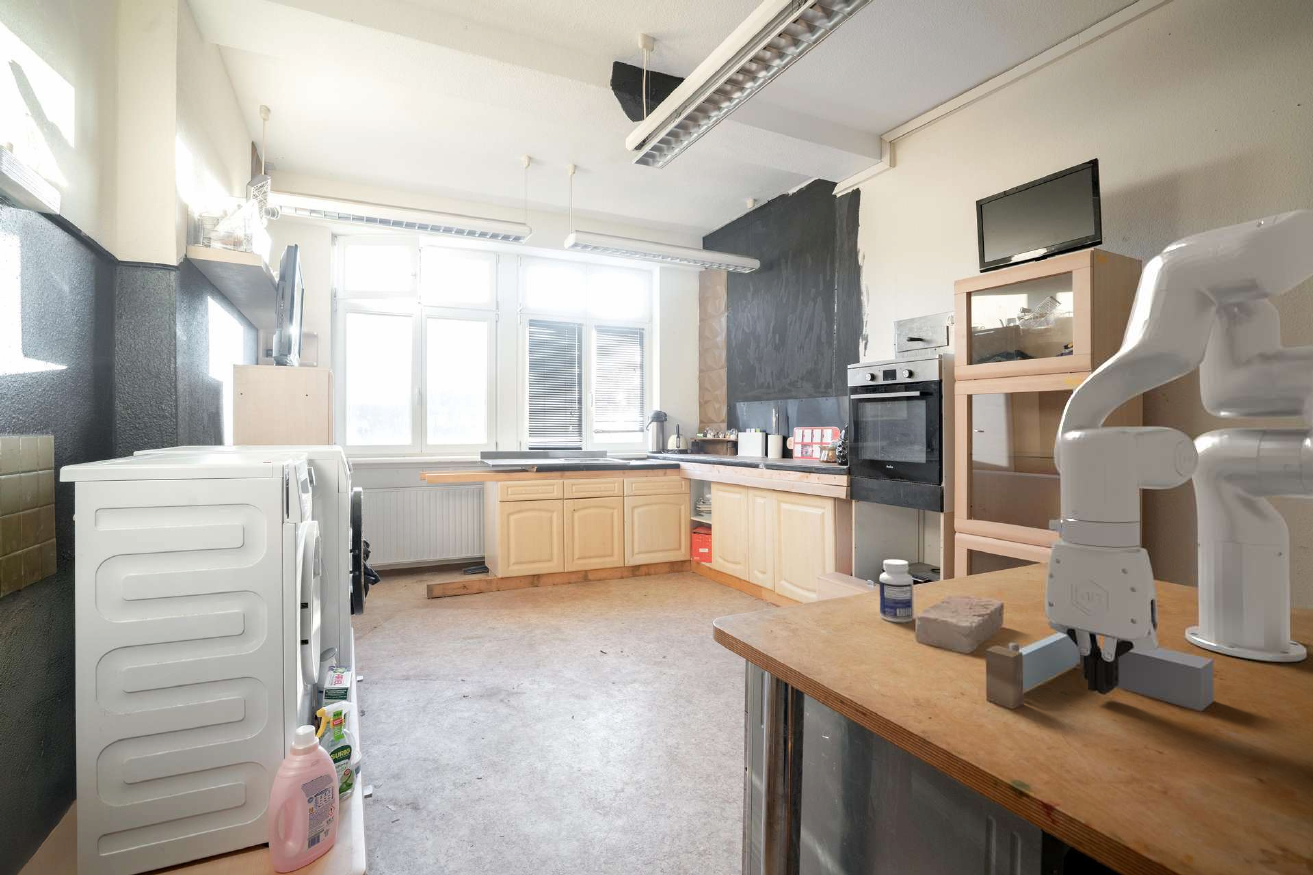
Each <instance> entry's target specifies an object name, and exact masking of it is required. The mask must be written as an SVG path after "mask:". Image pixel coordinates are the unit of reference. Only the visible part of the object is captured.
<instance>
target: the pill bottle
mask: <svg viewBox="0 0 1313 875" xmlns="http://www.w3.org/2000/svg"><path fill="white" fill-rule="evenodd" d="M882 566H883V570H884V572H882V573H881V574H880V575H879V615H880V618H881V619H883V620H884V621H887V622H892V623H909V622H912V621H914V617H915V616H914V614H915V610H914V609H915V608H914V605H915V604H914V579H913V577H912V575H911V574H910V573H908V572H909V569H910V568H909V561H907V560H904V559H885V560H883V565H882Z"/></svg>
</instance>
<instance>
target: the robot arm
mask: <svg viewBox="0 0 1313 875" xmlns="http://www.w3.org/2000/svg"><path fill="white" fill-rule="evenodd" d="M1141 272H1142V273H1141V275H1140V278H1139V281H1138V286H1137V289H1136V292H1135V296H1134V300H1133V301H1132V302H1133V303H1132V307H1131V310H1130V315H1129V318H1128V321H1127V325H1126V328H1125V331H1124V335H1123V340H1122V343H1121V346H1120V348H1119V350H1118V351H1117V353H1115V354H1114V355H1113V356H1111V357H1110V358H1109V359H1108V360H1106V361H1105V362H1104V363H1102V364H1101V365H1099V367H1097V369H1095V370H1094V371H1093V372H1092V373H1091V374H1090V375H1089V376H1088V377H1086V379H1085V380H1084V381H1083V382H1081V384H1080V385H1079V386H1078V387H1077V388H1076V390H1074V391H1073V393H1072V394H1071V396H1070V398H1069V399H1068V401H1067V402H1066V405H1065V406H1064V409H1063V412H1062V415H1061V417H1060V418H1061V419H1060V422H1059V426H1058V430H1057V432H1056V437H1055V441H1054V447H1053V459H1054V460H1053V462H1054V464H1055V469H1056V470H1057V473H1058V474H1060V477H1059V478H1060V516H1058V519H1049V522H1048V528H1049V530H1050V531H1055V532H1056V533H1058V537H1059V539H1060V540H1056V541H1053V542H1052V547H1051V550H1050V556H1049V559H1048V560H1049V561H1048V566H1047V573H1046V582H1045V594H1044V595H1045V596H1044V597H1045V598H1044V609H1045V610H1044V612H1045V617H1046V619H1047V620H1048V627H1049V628H1051V630H1054V631H1056V632H1057V633H1059V632H1060V633H1063V634H1066V635H1068V636H1069V638H1070V639H1071V640H1072V641H1073V642H1074V643H1075V644H1076V645H1077V647H1078V649H1079V652H1080V653H1081V654H1082V655H1084V667H1083V678H1084V680H1085V681H1087V690H1088V691H1091V692H1098V694H1101V695H1107V694H1108V693H1110V692H1112V691H1113V690H1114V689H1115V688H1117V686H1118V683H1119V657H1120V656H1122V655H1124V654H1125V653H1127V652H1129V651H1148V652H1151V651H1154V650H1156V649H1157V648H1158V647H1159V646H1160V645H1159V641H1158V639H1157V636H1156V631H1157V629H1158V622H1159V621H1158V620H1159V618H1158V616H1159V615H1158V601H1157V600H1158V599H1157V593H1156V592H1157V591H1156V586H1155V585H1156V584H1155V578H1154V573H1153V569H1152V564H1151V560H1150V557H1149V554H1148V550H1147V549H1146V548H1143V547H1141V521H1140V520H1141V517H1140V516H1141V514H1140V510H1141V509H1140V507H1141V505H1140V501H1141V500H1140V497H1141V496H1140V489H1146V490H1147V489H1148V490H1149V489H1150V490H1167V489H1173V488H1176V487H1179V486H1181V485H1183V484H1184V483H1186V482H1187V481H1189V480H1190V479H1191V480H1192V484H1193V488H1194V493H1195V501H1196V514H1197V564H1198V565H1197V570H1198V571H1197V572H1198V574H1197V576H1198V579H1197V581H1198V585H1197V587H1198V625H1195V626H1190V627H1187V628H1186V629H1185V634H1184V636H1185V639H1186V640H1188V641H1189V642H1190V643H1191V644H1193V645H1195V646H1198V647H1200V648H1203V649H1206V650H1209V651H1211V652H1212V651H1213V652H1215V653H1220V654H1223V655H1228V656H1233V657H1237V658H1243V659H1249V660H1255V661H1265V662H1278V663H1280V662H1281V663H1290V662H1300V661H1303V660H1305V659H1307V648H1306V647H1305V646H1304V645H1302V644H1301V643H1299V642H1296V641H1294V640H1293V639H1292V640H1291V609H1290V606H1291V604H1290V601H1291V598H1290V595H1291V593H1290V591H1291V590H1290V533H1289V528H1288V525H1287V523H1286V521H1285V518H1283V516H1282V515H1281V514H1280V513H1279V512H1278V510H1277V509H1276V508H1274V506H1273V505H1272V504H1271V503H1270V502H1269V501H1268V500H1267V499H1266V498H1265V497H1269V498H1270V497H1271V498H1272V497H1273V498H1274V497H1275V498H1276V497H1277V498H1293V499H1295V498H1296V499H1309V500H1310V499H1311V500H1313V345H1306V346H1305V345H1303V346H1296V347H1283V346H1282V341H1281V326H1280V325H1281V324H1280V323H1281V322H1280V321H1281V319H1280V314H1279V311H1278V310H1277V309H1276V307H1275V306H1274V305H1273V304H1272V303H1271V302H1270V301H1269V300H1268V299H1270V298H1275V297H1277V296H1280V295H1282V294H1286V293H1287V292H1288V291H1291V290H1292V289H1294V288H1295V287H1297V286H1299V285H1300V284H1302V283H1303V282H1305V281H1306V280H1308V279H1309V278H1311V277H1312V276H1313V210H1312V209H1297V210H1292V211H1287V212H1283V213H1279V214H1274V215H1271V216H1266V217H1263V218H1258V219H1254V220H1250V221H1245V222H1241V223H1238V224H1232V225H1228V226H1223V227H1220V228H1219V227H1218V228H1214V229H1211V230H1207V231H1203V232H1200V233H1195V234H1192V235H1189V236H1187V237H1183V238H1181V239H1179V240H1177V241H1174V242H1172V243H1171V244H1169V245H1168V246H1166V247H1165V248H1164V249H1163V250H1162V251H1161V253H1159V254H1157V255H1156V256H1154V257H1153V258H1151V259H1150V260H1149V261H1148V262H1147V264H1146V265H1145V266H1144V268H1143V269H1142V271H1141ZM1198 367H1199V387H1200V388H1199V389H1200V390H1199V391H1200V397H1201V403H1202V406H1203V407H1204V409H1205V411H1206V412H1207V413H1209V414H1210V415H1211V416H1214V417H1217V418H1223V419H1224V418H1225V419H1227V418H1228V419H1277V418H1278V419H1285V418H1286V419H1287V418H1288V419H1289V418H1302V419H1304V420H1305V421H1306V423H1307V425H1308V427H1237V428H1236V427H1231V428H1220V429H1215V430H1211V431H1207V432H1205V433H1203V434H1201V435H1199V436H1197V437H1196V438H1195V439H1194V440H1193V439H1191V437H1190V436H1188V435H1187V434H1186V433H1184V432H1183V431H1181V430H1178V429H1175V428H1171V427H1167V426H1102V425H1103V423H1105V420H1106V419H1107V417H1108V416H1110V414H1111V413H1112V412H1113V411H1114V410H1116V409H1117V408H1118V407H1120V405H1122V404H1124V403H1125V402H1127V401H1128V400H1131V399H1132V398H1135V397H1137V396H1138V395H1141V394H1143V393H1145V392H1148V391H1150V390H1153V389H1155V388H1157V387H1160V386H1162V385H1165V384H1167V383H1169V382H1171V381H1174V380H1176V379H1178V378H1181V377H1184V376H1186V375H1188V374H1190V373H1191V372H1192V371H1194V370H1196V369H1197V368H1198ZM1099 636H1103V637H1104V640H1103V645H1102V648H1100V647H1101V646H1100V640H1099Z"/></svg>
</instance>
